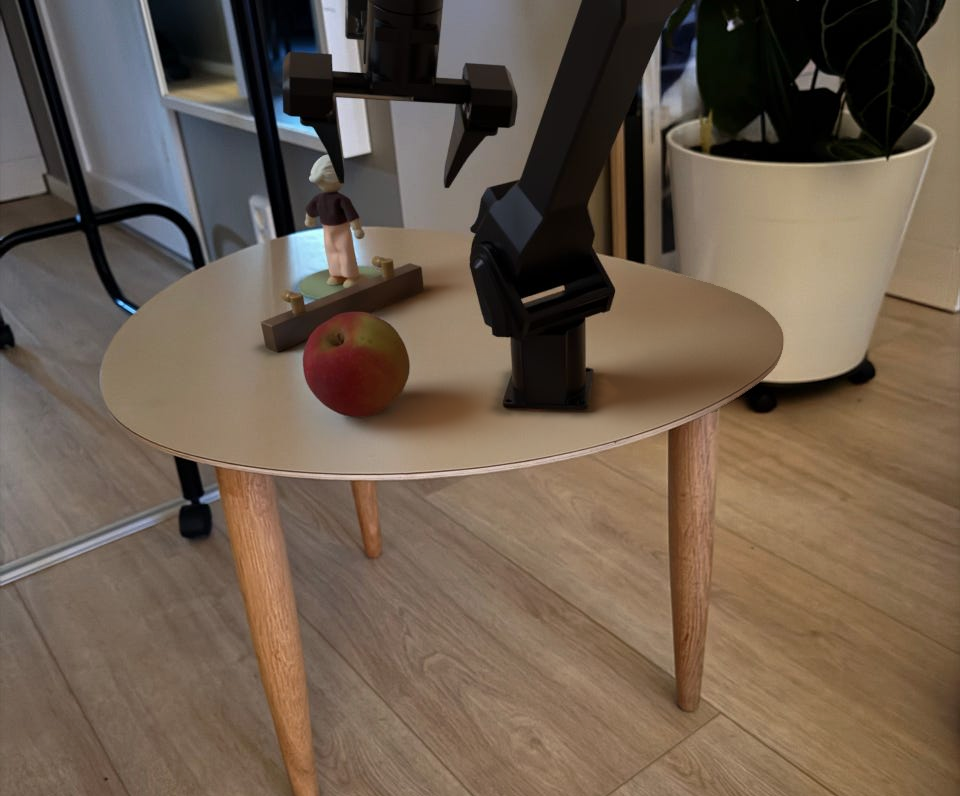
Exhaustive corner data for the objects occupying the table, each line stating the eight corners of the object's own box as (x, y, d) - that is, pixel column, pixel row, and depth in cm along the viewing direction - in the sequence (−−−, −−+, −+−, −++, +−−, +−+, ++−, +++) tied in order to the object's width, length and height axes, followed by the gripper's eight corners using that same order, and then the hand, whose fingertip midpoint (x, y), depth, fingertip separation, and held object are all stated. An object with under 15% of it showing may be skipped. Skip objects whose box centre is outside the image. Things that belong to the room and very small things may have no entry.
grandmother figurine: (385, 278, 97) (370, 151, 90) (366, 292, 94) (348, 162, 87) (322, 272, 100) (303, 148, 93) (302, 284, 97) (280, 158, 90)
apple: (303, 402, 75) (285, 307, 71) (400, 381, 77) (389, 288, 73) (323, 445, 69) (305, 345, 65) (428, 421, 71) (417, 322, 67)
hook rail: (277, 352, 84) (268, 309, 82) (199, 319, 92) (189, 279, 89) (430, 287, 95) (426, 247, 93) (349, 263, 103) (343, 225, 100)
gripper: (510, -33, 78) (487, 141, 90) (281, -52, 75) (287, 131, 87) (532, 26, 71) (503, 207, 83) (279, 7, 68) (285, 198, 79)
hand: (394, 183), depth 83 cm, fingers open, 9 cm apart
